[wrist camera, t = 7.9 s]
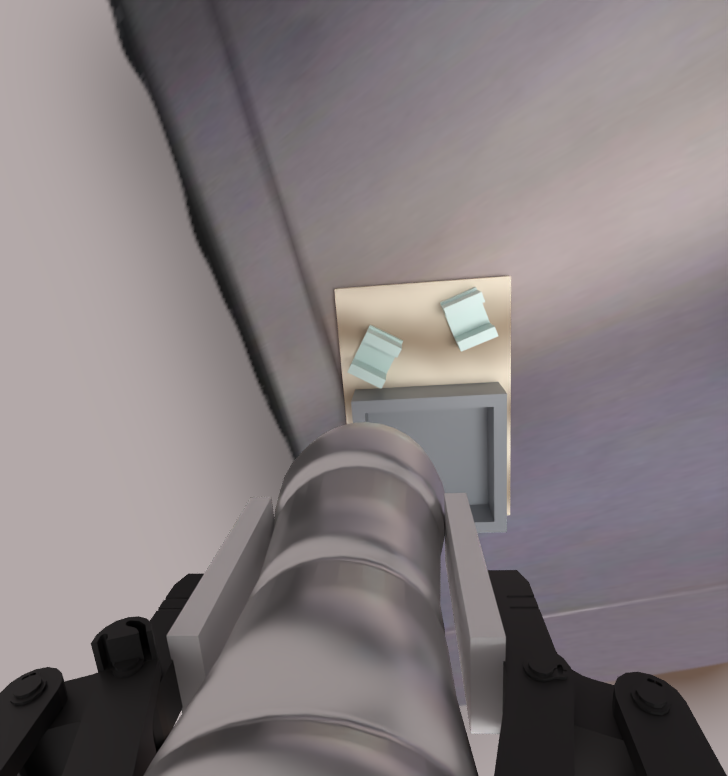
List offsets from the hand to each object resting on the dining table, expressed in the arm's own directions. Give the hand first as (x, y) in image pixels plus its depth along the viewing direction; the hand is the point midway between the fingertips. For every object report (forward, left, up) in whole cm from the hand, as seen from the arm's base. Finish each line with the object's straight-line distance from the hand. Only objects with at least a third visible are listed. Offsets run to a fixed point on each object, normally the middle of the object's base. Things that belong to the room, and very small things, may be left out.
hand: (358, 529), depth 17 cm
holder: (+8, +4, -24) cm, 26 cm away
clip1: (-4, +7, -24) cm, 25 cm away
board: (+4, +4, -25) cm, 26 cm away
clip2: (-1, 0, -24) cm, 24 cm away
